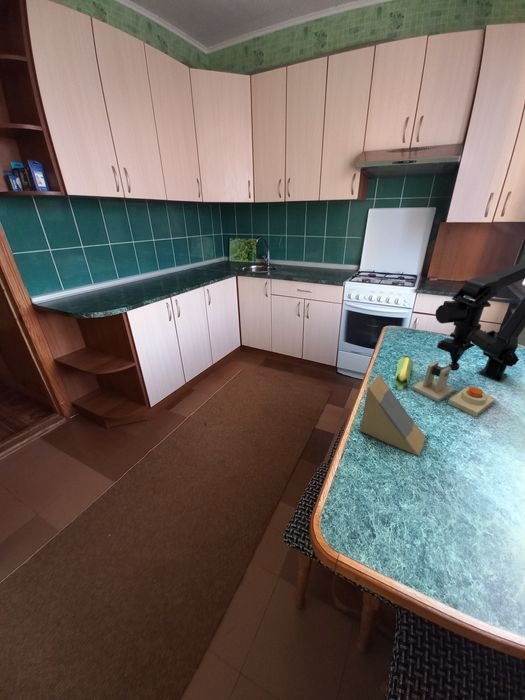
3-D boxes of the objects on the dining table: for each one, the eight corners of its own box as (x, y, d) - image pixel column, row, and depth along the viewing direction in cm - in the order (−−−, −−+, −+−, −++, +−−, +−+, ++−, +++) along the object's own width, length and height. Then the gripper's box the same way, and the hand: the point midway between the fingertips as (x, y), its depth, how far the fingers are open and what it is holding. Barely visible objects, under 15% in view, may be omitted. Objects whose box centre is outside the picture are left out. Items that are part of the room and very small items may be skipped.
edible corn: (412, 366, 112) (415, 355, 109) (407, 393, 96) (410, 381, 94) (398, 363, 114) (400, 352, 112) (391, 389, 98) (393, 377, 96)
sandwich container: (419, 457, 72) (434, 409, 65) (359, 431, 81) (367, 386, 74) (426, 437, 78) (441, 391, 71) (370, 414, 87) (378, 372, 80)
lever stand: (427, 379, 103) (434, 356, 99) (454, 391, 96) (462, 367, 92) (411, 388, 98) (417, 365, 94) (437, 402, 92) (445, 377, 87)
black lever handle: (449, 367, 103) (452, 359, 101) (459, 371, 100) (462, 363, 99) (429, 374, 95) (432, 365, 94) (439, 378, 92) (442, 369, 91)
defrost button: (470, 390, 92) (472, 385, 91) (483, 395, 89) (485, 391, 88) (464, 393, 90) (466, 389, 89) (477, 399, 87) (479, 395, 86)
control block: (466, 390, 97) (469, 381, 95) (493, 402, 91) (497, 393, 89) (447, 403, 91) (450, 394, 89) (475, 417, 85) (479, 407, 83)
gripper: (483, 335, 81) (466, 382, 88) (510, 321, 90) (493, 364, 97) (442, 323, 90) (430, 367, 97) (471, 311, 98) (458, 351, 106)
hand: (454, 362), depth 99 cm, fingers closed
